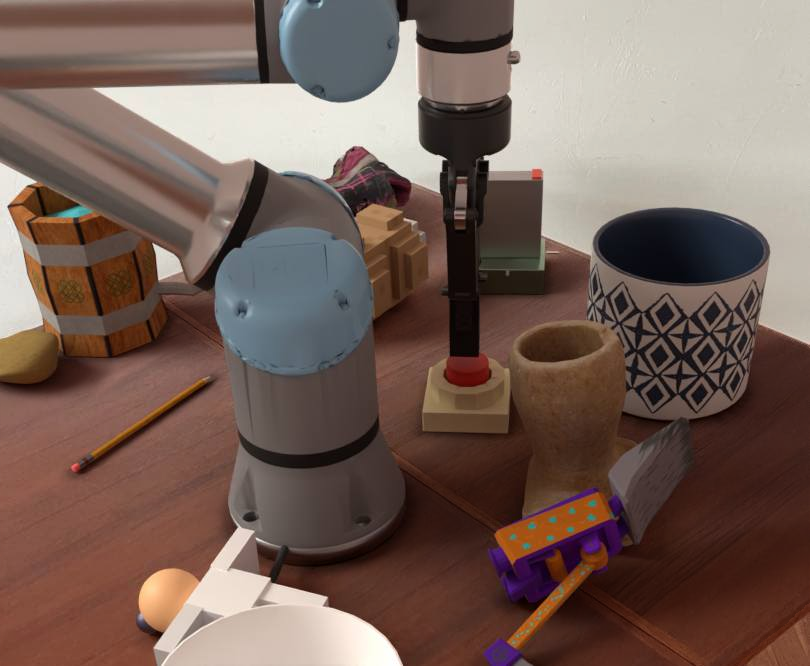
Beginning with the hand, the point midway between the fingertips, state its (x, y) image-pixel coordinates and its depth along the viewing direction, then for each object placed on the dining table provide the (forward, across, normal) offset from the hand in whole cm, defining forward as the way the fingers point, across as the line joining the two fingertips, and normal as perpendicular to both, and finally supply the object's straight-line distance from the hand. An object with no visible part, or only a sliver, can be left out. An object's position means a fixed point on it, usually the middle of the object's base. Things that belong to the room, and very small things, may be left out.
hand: (464, 352), depth 105 cm
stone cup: (+6, -13, -10) cm, 18 cm away
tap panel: (+6, +27, -3) cm, 28 cm away
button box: (+6, 0, 0) cm, 6 cm away
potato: (+5, +8, +45) cm, 46 cm away
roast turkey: (+6, +18, +12) cm, 23 cm away
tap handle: (+3, +27, -3) cm, 27 cm away
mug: (+7, +16, +37) cm, 41 cm away
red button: (+3, 0, 0) cm, 3 cm away
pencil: (+7, -4, +30) cm, 31 cm away
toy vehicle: (0, -21, -9) cm, 23 cm away
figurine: (+4, -34, +8) cm, 35 cm away
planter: (+6, +6, -19) cm, 21 cm away
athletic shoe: (+2, +38, +22) cm, 44 cm away
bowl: (+6, -46, +9) cm, 47 cm away
